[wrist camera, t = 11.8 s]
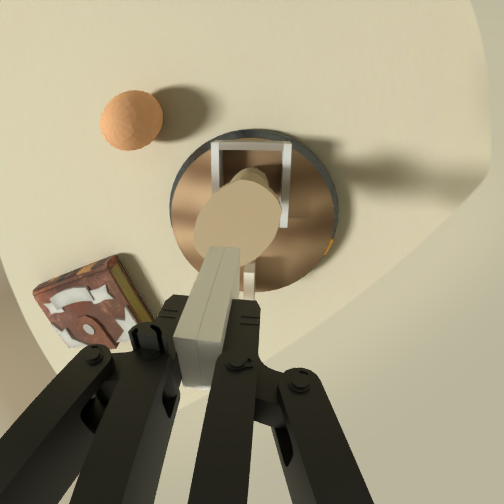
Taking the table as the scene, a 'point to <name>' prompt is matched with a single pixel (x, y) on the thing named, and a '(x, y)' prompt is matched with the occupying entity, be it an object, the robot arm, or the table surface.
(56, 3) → the table surface
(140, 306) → the book
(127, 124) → the egg
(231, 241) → the handle
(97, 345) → the robot arm
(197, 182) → the dial
